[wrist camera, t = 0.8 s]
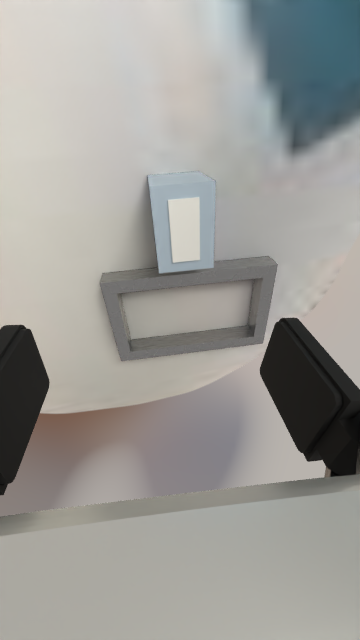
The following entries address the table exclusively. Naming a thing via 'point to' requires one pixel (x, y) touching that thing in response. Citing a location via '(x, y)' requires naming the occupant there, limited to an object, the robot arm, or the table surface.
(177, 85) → the table surface
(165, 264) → the module
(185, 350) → the grey rectangular frame
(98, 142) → the table surface
